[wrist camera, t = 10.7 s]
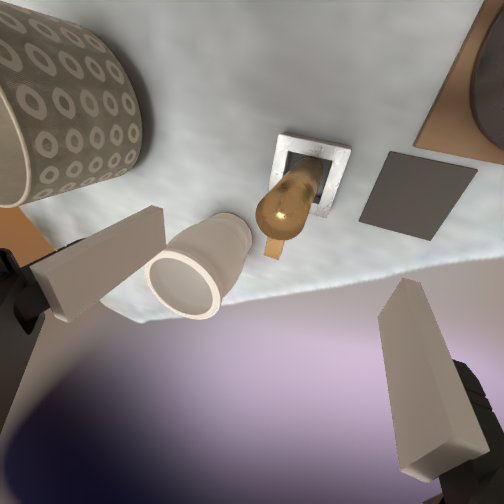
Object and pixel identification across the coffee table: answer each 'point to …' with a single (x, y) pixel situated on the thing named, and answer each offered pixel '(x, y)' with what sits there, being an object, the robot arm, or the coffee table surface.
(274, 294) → the coffee table surface
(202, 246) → the jar
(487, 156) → the wheel base
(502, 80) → the handwheel
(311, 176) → the hook peg
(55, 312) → the robot arm
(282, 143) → the eye block
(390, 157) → the pad
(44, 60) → the planter
